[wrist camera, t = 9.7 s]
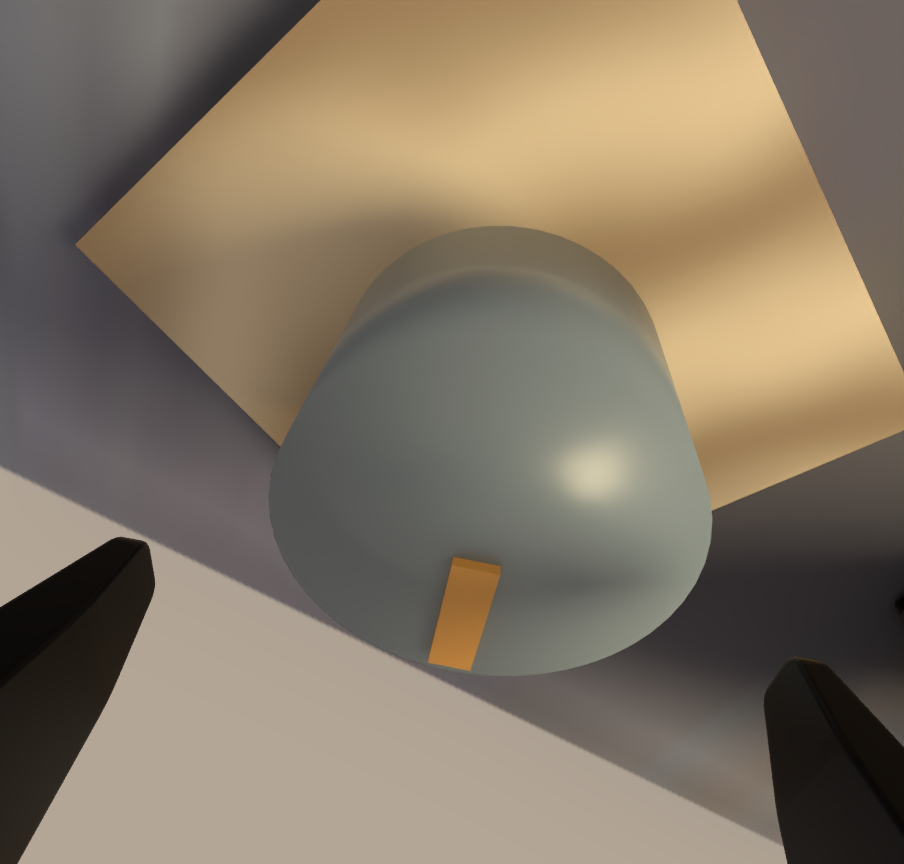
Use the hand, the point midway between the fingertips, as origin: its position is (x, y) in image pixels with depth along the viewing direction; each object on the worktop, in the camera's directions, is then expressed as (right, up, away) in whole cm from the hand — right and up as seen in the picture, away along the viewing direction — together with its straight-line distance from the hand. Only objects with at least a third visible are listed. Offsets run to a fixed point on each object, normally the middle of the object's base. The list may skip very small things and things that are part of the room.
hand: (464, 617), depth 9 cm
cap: (+1, +4, +5) cm, 7 cm away
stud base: (+1, +6, +9) cm, 11 cm away
